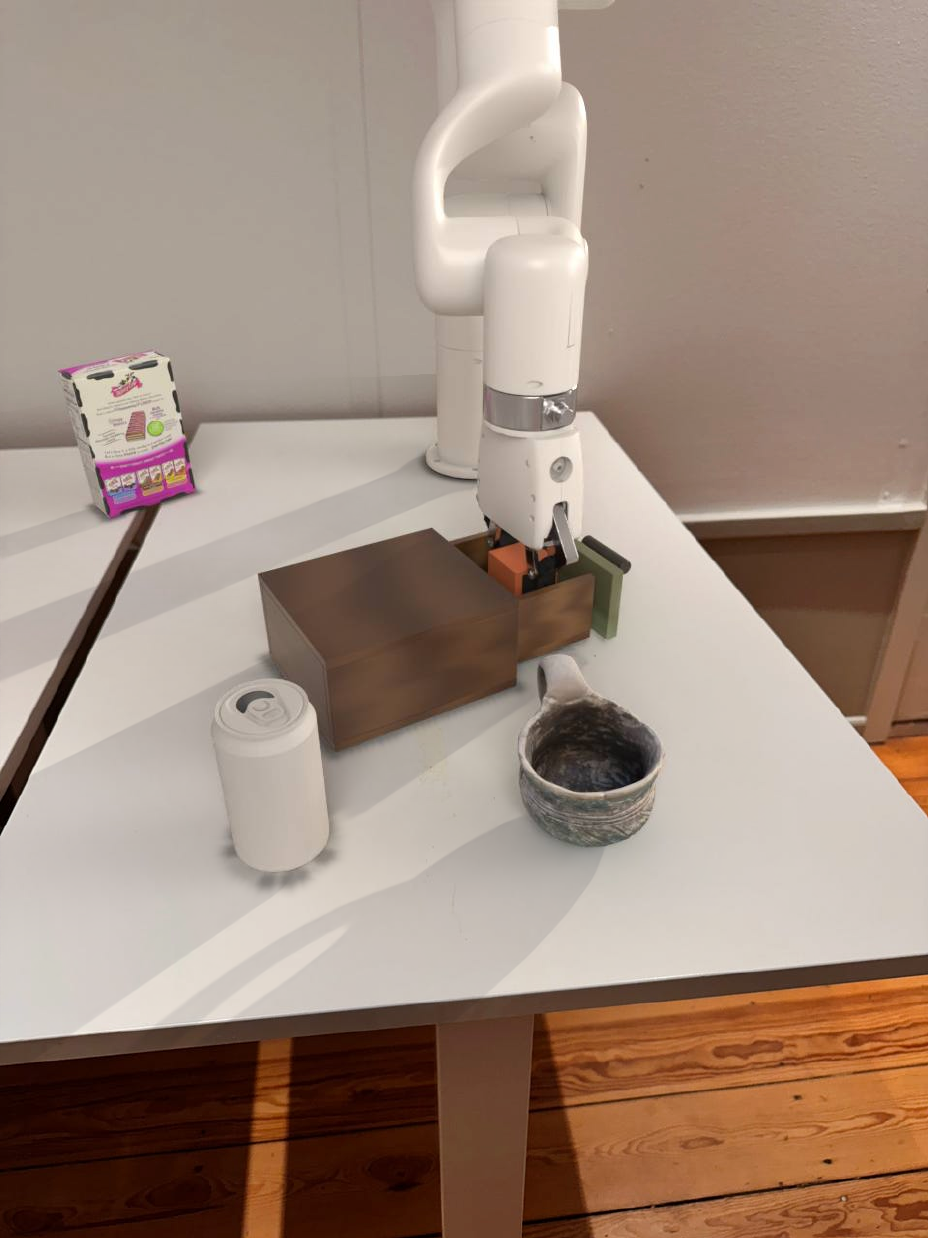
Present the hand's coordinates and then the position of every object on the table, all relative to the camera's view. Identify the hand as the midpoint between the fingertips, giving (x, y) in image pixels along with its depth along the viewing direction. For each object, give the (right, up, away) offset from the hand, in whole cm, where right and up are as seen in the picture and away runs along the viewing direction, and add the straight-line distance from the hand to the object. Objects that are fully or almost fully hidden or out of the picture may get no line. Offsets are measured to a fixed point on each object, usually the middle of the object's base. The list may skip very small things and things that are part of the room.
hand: (521, 595), depth 80 cm
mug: (+2, -16, -17) cm, 24 cm away
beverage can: (-17, -18, -20) cm, 32 cm away
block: (0, 0, 0) cm, 0 cm away
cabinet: (-12, -7, -4) cm, 14 cm away
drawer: (0, -2, +1) cm, 3 cm away
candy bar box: (-43, +12, +25) cm, 52 cm away
